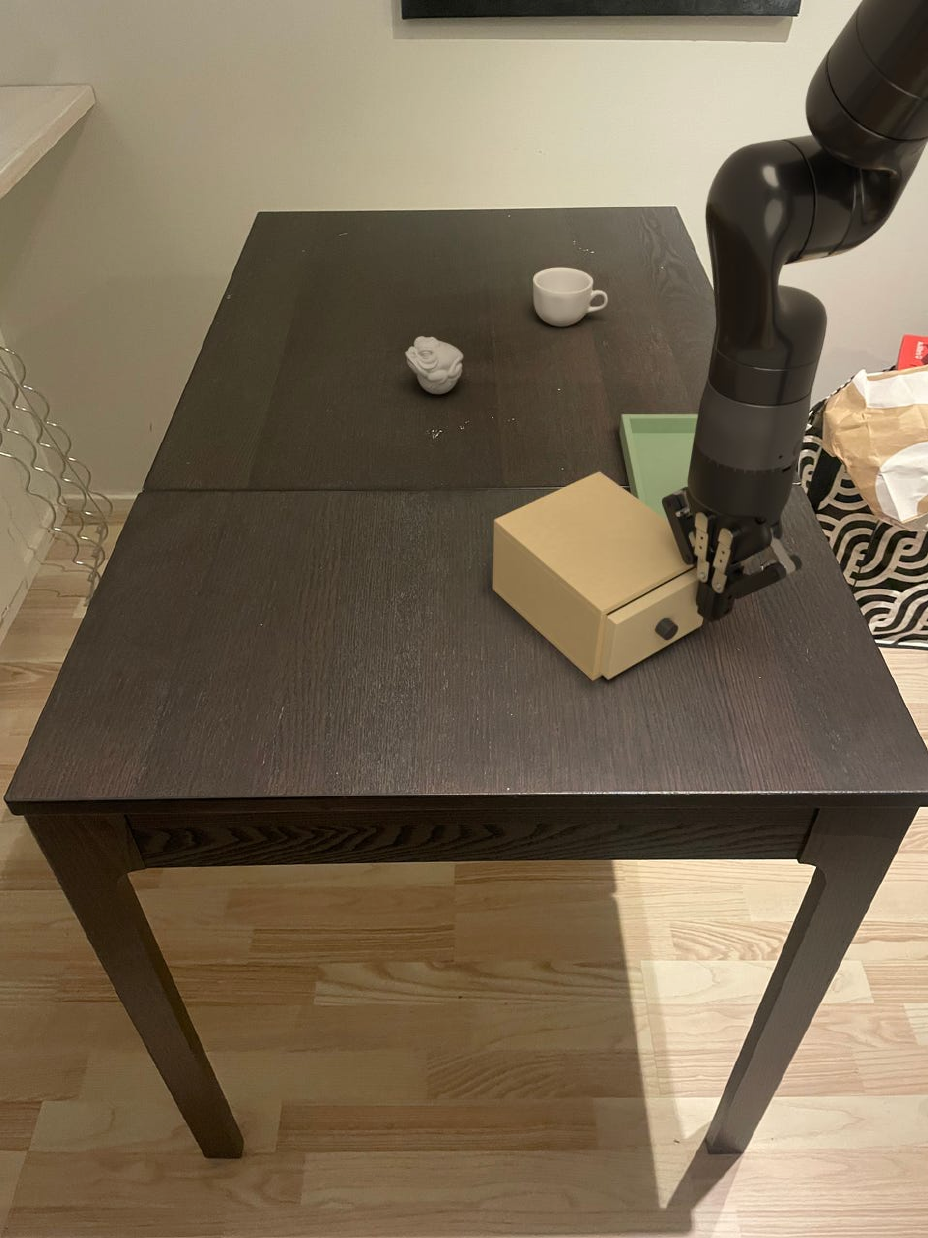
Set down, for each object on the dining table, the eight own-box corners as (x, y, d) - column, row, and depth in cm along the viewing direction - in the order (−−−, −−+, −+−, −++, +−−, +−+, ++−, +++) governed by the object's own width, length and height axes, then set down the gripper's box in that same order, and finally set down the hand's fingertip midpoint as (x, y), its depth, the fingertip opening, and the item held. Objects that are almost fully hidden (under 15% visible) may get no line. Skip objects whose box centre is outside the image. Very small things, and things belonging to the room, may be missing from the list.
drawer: (711, 633, 85) (725, 577, 80) (617, 688, 80) (626, 633, 75) (602, 547, 93) (609, 491, 88) (511, 592, 89) (513, 537, 84)
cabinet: (695, 621, 87) (711, 551, 81) (592, 681, 82) (601, 611, 76) (591, 539, 95) (599, 470, 89) (492, 589, 90) (493, 519, 84)
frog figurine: (401, 383, 117) (398, 330, 112) (456, 374, 118) (455, 321, 113) (414, 409, 112) (412, 355, 108) (471, 399, 114) (471, 345, 109)
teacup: (525, 328, 126) (527, 289, 122) (537, 302, 132) (539, 264, 128) (600, 337, 124) (604, 298, 121) (609, 310, 130) (613, 272, 126)
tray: (767, 543, 95) (773, 524, 93) (640, 543, 95) (643, 524, 93) (729, 432, 109) (733, 413, 107) (619, 432, 109) (621, 413, 107)
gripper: (645, 416, 71) (625, 591, 83) (784, 498, 63) (740, 680, 75) (716, 385, 74) (687, 558, 86) (858, 459, 66) (804, 640, 78)
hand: (711, 614), depth 80 cm, fingers closed
